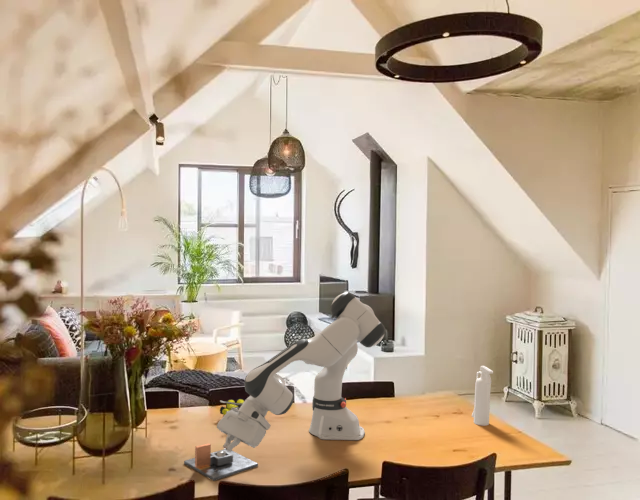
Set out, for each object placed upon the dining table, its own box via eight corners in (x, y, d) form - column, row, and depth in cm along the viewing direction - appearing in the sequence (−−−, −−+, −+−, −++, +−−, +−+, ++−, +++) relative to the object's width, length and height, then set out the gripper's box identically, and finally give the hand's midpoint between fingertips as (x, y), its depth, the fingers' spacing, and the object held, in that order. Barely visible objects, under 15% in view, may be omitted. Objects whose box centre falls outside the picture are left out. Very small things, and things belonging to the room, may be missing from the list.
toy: (216, 415, 258) (226, 436, 230) (216, 394, 258) (227, 413, 230) (253, 413, 263) (267, 433, 234) (253, 392, 263) (267, 410, 234)
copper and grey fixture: (199, 470, 194) (200, 449, 194) (191, 464, 199) (192, 444, 198) (232, 462, 202) (233, 442, 202) (224, 456, 206) (224, 437, 206)
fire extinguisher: (479, 416, 263) (481, 362, 261) (495, 426, 252) (497, 369, 250) (466, 418, 261) (468, 362, 259) (481, 428, 250) (483, 370, 248)
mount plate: (257, 466, 202) (258, 453, 202) (213, 481, 190) (214, 467, 190) (227, 450, 215) (227, 438, 215) (184, 463, 203) (184, 450, 202)
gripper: (228, 402, 209) (203, 435, 203) (264, 417, 194) (239, 453, 188) (237, 412, 212) (214, 445, 206) (274, 427, 198) (249, 463, 191)
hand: (226, 449), depth 197 cm, fingers closed
